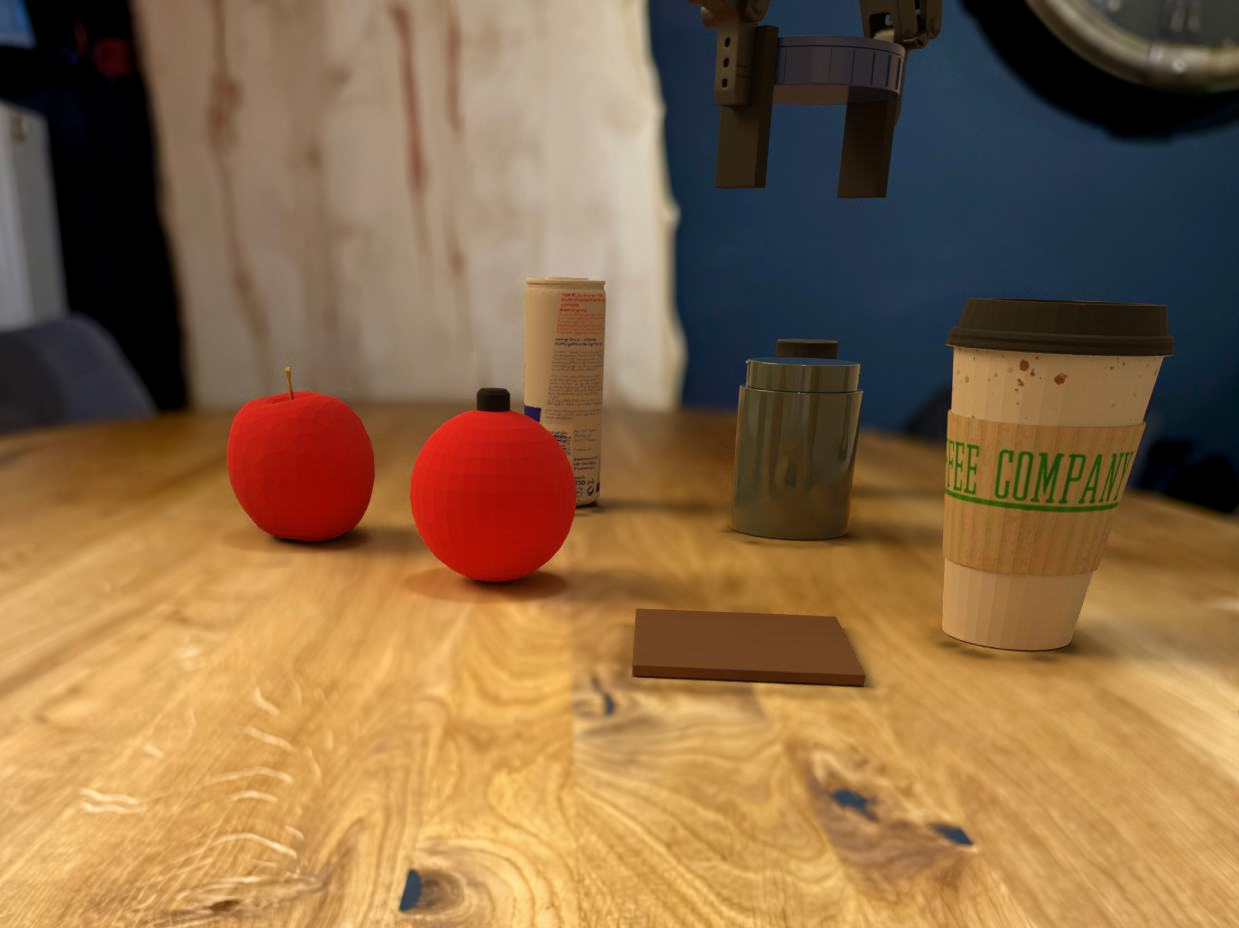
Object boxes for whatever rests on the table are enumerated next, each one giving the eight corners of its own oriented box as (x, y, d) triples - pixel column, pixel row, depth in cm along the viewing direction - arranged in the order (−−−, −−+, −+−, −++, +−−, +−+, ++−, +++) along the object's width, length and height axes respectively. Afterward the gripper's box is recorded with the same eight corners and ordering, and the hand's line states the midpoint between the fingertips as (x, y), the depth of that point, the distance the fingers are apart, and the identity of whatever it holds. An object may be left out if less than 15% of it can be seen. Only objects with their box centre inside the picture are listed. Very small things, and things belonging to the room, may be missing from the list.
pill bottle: (847, 492, 101) (865, 342, 96) (787, 497, 98) (802, 342, 93) (798, 481, 106) (813, 337, 101) (739, 485, 103) (751, 337, 98)
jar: (838, 519, 90) (857, 358, 85) (854, 541, 83) (875, 367, 78) (726, 515, 91) (738, 354, 86) (732, 537, 83) (746, 363, 79)
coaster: (835, 625, 63) (836, 616, 63) (864, 686, 55) (865, 674, 54) (635, 617, 64) (636, 607, 64) (631, 675, 55) (632, 664, 55)
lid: (708, 100, 66) (711, 57, 65) (864, 107, 67) (869, 65, 66) (752, 79, 58) (756, 30, 57) (928, 88, 59) (934, 40, 59)
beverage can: (611, 499, 95) (619, 278, 88) (580, 511, 90) (586, 278, 84) (544, 492, 97) (547, 275, 90) (510, 503, 92) (511, 275, 86)
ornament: (603, 591, 69) (610, 394, 64) (448, 605, 65) (445, 397, 61) (532, 557, 76) (534, 378, 71) (389, 569, 72) (382, 380, 68)
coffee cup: (874, 636, 62) (920, 297, 55) (942, 599, 69) (990, 296, 63) (1081, 673, 57) (1158, 307, 50) (1131, 629, 64) (1203, 305, 58)
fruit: (206, 531, 80) (189, 361, 76) (329, 517, 86) (320, 357, 81) (280, 557, 74) (266, 373, 70) (408, 540, 80) (403, 368, 75)
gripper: (940, -314, 63) (878, 204, 73) (616, -462, 51) (595, 182, 61) (1075, -362, 58) (989, 202, 68) (749, -539, 46) (703, 178, 56)
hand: (803, 192), depth 64 cm, fingers closed on lid, 8 cm apart
